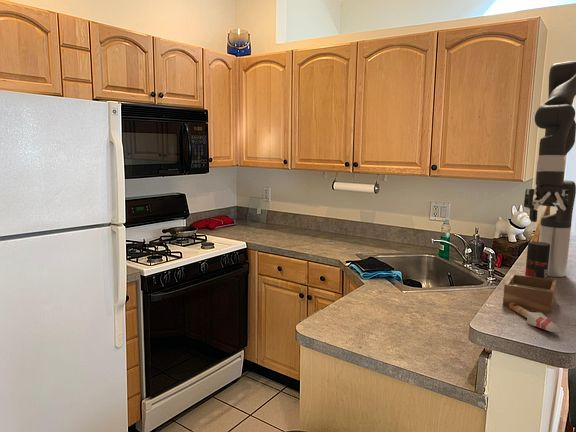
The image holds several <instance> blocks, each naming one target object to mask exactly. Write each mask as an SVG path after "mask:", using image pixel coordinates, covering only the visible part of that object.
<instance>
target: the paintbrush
mask: <svg viewBox="0 0 576 432" xmlns="http://www.w3.org/2000/svg"><path fill="white" fill-rule="evenodd" d="M508 307H509V308H510V309H511V310H512V311H514V312H516V313H517V314H519V315H521V316H523V317H525V319H526V318H527V319H526V322H525V323H526V324H528V325H530V326H534V327H537V328H540V329H541V330H545V331H548V332H551V333H564V331H563V330H562V329H560V327H558V326H557V325H556V324H555V323H554V322H553V321H551V320H550V319H549V318H548V317H547V316H546V314H545V315H544V313H541V312H536V311H530V310H526V309H524V308H522V307H520V306H518V305H517V304H515V303H510V304H509V306H508Z"/></svg>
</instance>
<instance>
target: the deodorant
mask: <svg viewBox="0 0 576 432" xmlns="http://www.w3.org/2000/svg"><path fill="white" fill-rule="evenodd" d="M549 252H550V244H549V243H545V242H536V241H532V240H531V241H527V251H526V261H525V273H524V276H531V277H538V278H544V279H548V276H547V272H548V262H549Z"/></svg>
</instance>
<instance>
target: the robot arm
mask: <svg viewBox="0 0 576 432" xmlns="http://www.w3.org/2000/svg"><path fill="white" fill-rule="evenodd" d="M575 97H576V60H570V61H564V62H556V63H553V64H552V65H551V67H550V68H549V73H548V97H547V98H548V99H546V100H545V102H543V103H542V104H541V105H540V106H539V107H538V108H537V110H536V111H535V115H534V123H535V125H536V126H537V127H538V128H540V129H542V130H545V132H544V136H543V137H542V138H540V140H539V146H538V147H539V148H538V158H537V162H536V174H535V185H536V186H535V188H532V187H531V188H526V189H525V192H524V193H525V194H524V201H523V207H524V208H525V209H526V208H527V209H528V210H529V215H528V218H529V221H530V222H532V223H538V208H539V207H541V206H543V207H544V206H550V207H555V208H556V212H555V213H553V214H550V215H548V216H544V217H542V218H541V225H540V236H539V242H545V243H549V244H550V252H549V262H548V272H547V277H553V278H554V277H555V278H563V277H566V276H567V268H568V267H567V266H568V258H569V249H570V243H571V242H570V241H571V232H572V231H571V230H572V229H571V228H572V221H573V219H572V218H573V211H574V205H575V199H576V183H575V181H573V180H565V168H566V159H565V157H566V155H568V153H569V152H570V151H571V150H572V148H573V147H574V146H575V143H576V120H575V117H576V109H575V108H574V107H573V103H574V99H575ZM534 196H535V197H534Z"/></svg>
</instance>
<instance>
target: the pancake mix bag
mask: <svg viewBox="0 0 576 432" xmlns="http://www.w3.org/2000/svg"><path fill="white" fill-rule="evenodd" d="M542 209H543V210H542V212H541V215H540V216H539V219H538V221H537V225H536V227H535V231H534V233H533V236H532V239H531V241H536V242H539V236H540V225H541V218H542V217H544V216H548V215H551V206H543V208H542Z"/></svg>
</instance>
